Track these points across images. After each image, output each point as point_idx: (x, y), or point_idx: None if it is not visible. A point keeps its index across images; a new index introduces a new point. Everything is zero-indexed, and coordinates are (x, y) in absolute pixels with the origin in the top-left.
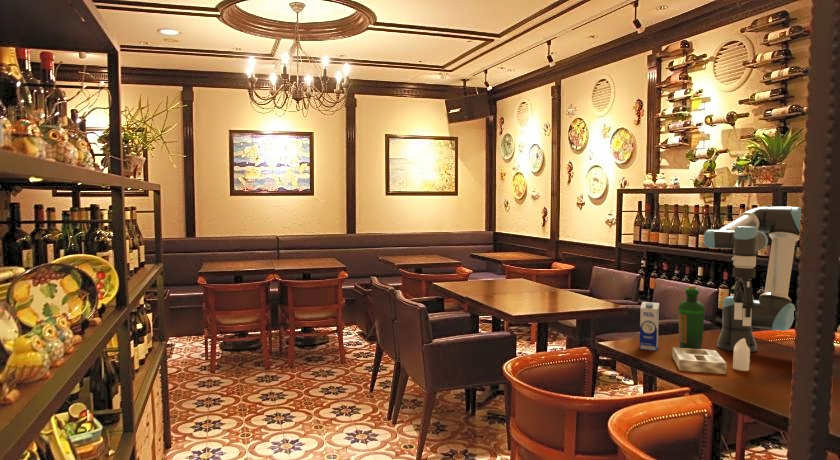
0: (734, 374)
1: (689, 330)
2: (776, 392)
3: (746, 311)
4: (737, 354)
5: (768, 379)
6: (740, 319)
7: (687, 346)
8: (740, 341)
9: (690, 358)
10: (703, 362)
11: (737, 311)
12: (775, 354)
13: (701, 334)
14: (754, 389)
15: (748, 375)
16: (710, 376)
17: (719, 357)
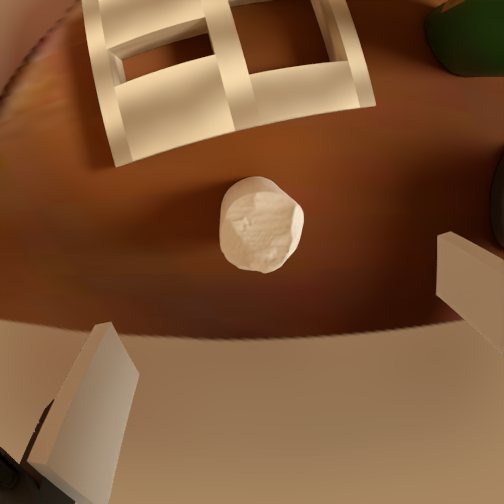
0: (144, 191)
1: (475, 6)
2: (30, 312)
3: (29, 448)
4: (225, 208)
5: (148, 299)
6: (437, 283)
7: (434, 20)
8: (274, 238)
9: (126, 19)
10: (94, 77)
11: (485, 292)
12: None
13: (491, 64)
14: (16, 262)
15: (161, 238)
16: (67, 120)
17: (221, 123)
